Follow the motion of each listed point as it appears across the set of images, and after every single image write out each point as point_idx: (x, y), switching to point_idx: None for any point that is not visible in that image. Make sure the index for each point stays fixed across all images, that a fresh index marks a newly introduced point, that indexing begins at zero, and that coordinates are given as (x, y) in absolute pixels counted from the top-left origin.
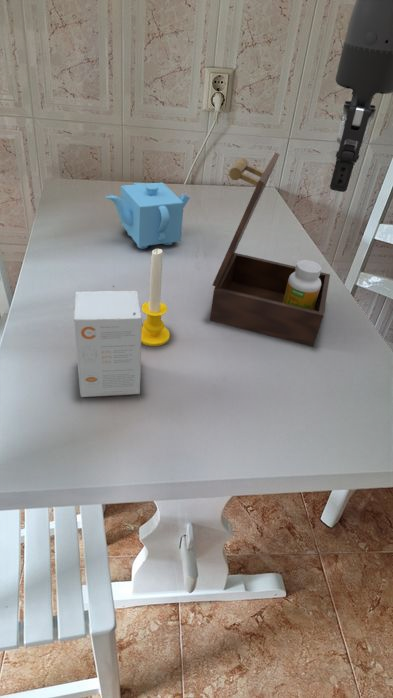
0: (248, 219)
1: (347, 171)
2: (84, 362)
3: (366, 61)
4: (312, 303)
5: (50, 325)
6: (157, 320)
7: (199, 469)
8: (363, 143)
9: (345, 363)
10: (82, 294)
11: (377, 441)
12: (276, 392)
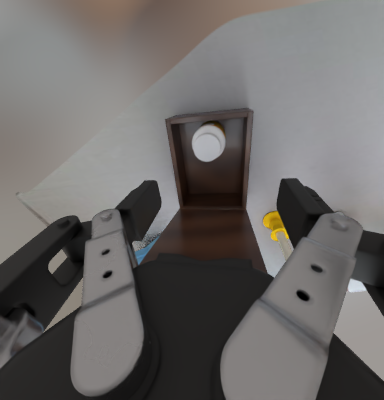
0: (221, 235)
1: (329, 212)
2: None
3: None
4: (219, 126)
5: (280, 263)
6: (282, 227)
7: None
8: (337, 250)
9: (264, 68)
10: (353, 289)
11: None
12: (323, 126)
